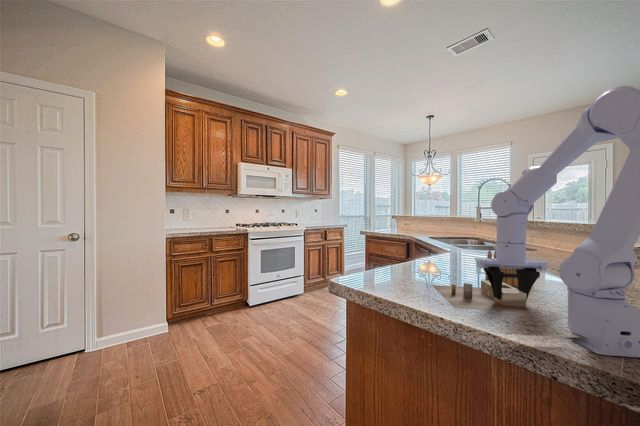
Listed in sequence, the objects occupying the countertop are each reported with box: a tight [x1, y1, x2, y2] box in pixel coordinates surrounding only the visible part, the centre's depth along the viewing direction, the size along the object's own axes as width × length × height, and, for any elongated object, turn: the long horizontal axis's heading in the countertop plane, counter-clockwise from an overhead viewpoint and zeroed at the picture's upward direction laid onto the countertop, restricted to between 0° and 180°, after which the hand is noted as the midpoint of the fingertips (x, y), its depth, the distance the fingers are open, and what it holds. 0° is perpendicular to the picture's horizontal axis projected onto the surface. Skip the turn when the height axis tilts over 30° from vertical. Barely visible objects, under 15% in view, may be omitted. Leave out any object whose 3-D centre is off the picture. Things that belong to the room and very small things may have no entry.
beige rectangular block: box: [480, 279, 527, 306], centre depth 66 cm, size 11×5×3 cm, turn 172°
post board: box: [432, 282, 542, 314], centre depth 67 cm, size 18×18×5 cm
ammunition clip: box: [484, 249, 518, 287], centre depth 79 cm, size 11×2×12 cm, turn 76°
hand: (509, 298), depth 63 cm, fingers closed on beige rectangular block, 5 cm apart
